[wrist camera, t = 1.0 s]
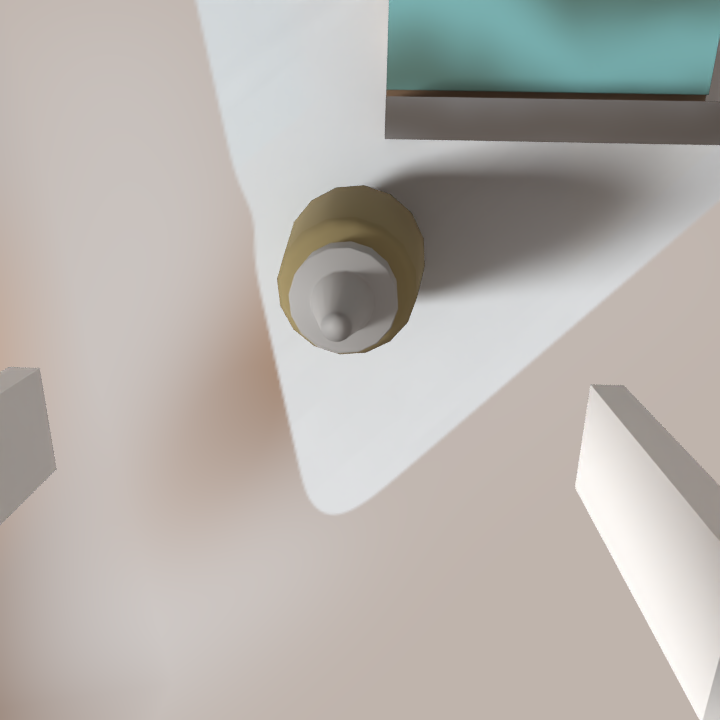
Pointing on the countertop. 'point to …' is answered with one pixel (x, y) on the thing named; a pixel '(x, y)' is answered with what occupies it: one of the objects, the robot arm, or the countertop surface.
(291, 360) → the countertop surface
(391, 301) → the squeeze bottle
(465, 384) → the countertop surface
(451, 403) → the countertop surface
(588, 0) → the dock
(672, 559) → the robot arm
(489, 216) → the countertop surface
